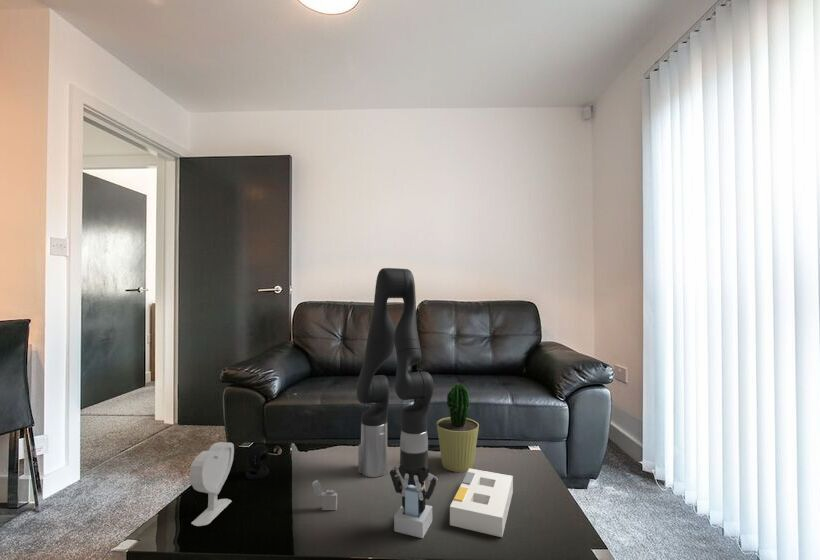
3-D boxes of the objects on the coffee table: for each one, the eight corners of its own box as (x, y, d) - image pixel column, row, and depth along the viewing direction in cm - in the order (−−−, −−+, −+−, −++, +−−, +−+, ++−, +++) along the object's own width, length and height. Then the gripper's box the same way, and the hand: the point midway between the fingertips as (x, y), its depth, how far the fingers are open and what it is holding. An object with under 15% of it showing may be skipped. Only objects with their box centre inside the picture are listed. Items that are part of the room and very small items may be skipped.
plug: (404, 528, 103) (405, 490, 103) (409, 520, 106) (410, 484, 107) (417, 531, 102) (417, 493, 102) (422, 523, 105) (422, 486, 105)
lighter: (337, 507, 113) (337, 479, 113) (336, 510, 111) (336, 482, 111) (313, 507, 113) (313, 479, 113) (311, 510, 111) (311, 482, 111)
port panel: (449, 525, 104) (449, 504, 105) (469, 483, 127) (469, 467, 127) (502, 537, 99) (502, 516, 100) (512, 491, 122) (512, 474, 122)
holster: (394, 531, 102) (394, 515, 102) (405, 514, 109) (405, 500, 109) (422, 538, 99) (422, 522, 99) (432, 520, 106) (432, 506, 106)
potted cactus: (449, 452, 151) (449, 375, 152) (485, 462, 142) (485, 381, 143) (428, 466, 139) (428, 383, 140) (466, 479, 130) (466, 389, 131)
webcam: (254, 482, 127) (255, 451, 127) (240, 476, 131) (241, 446, 131) (274, 472, 134) (274, 443, 134) (260, 467, 138) (260, 439, 138)
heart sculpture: (203, 528, 102) (205, 460, 103) (186, 527, 103) (187, 459, 103) (235, 497, 118) (236, 438, 118) (220, 496, 118) (221, 437, 119)
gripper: (384, 447, 104) (384, 512, 103) (434, 456, 98) (434, 524, 98) (395, 437, 111) (395, 498, 110) (443, 445, 105) (442, 508, 105)
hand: (413, 510), depth 104 cm, fingers closed on plug, 3 cm apart
